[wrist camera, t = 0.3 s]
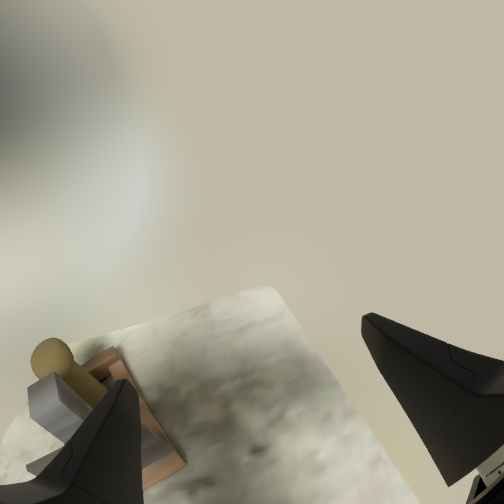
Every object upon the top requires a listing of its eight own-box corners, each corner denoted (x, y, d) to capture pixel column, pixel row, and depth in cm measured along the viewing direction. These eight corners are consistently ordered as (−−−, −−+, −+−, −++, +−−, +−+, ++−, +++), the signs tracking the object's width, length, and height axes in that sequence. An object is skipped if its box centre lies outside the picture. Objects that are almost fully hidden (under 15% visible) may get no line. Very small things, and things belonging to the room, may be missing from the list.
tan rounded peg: (87, 389, 27) (36, 330, 22) (123, 389, 27) (71, 326, 22) (77, 427, 22) (15, 370, 16) (114, 431, 22) (49, 373, 16)
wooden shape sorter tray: (187, 464, 18) (116, 411, 13) (96, 511, 12) (5, 470, 7) (120, 356, 31) (76, 292, 26) (57, 395, 26) (5, 338, 20)
